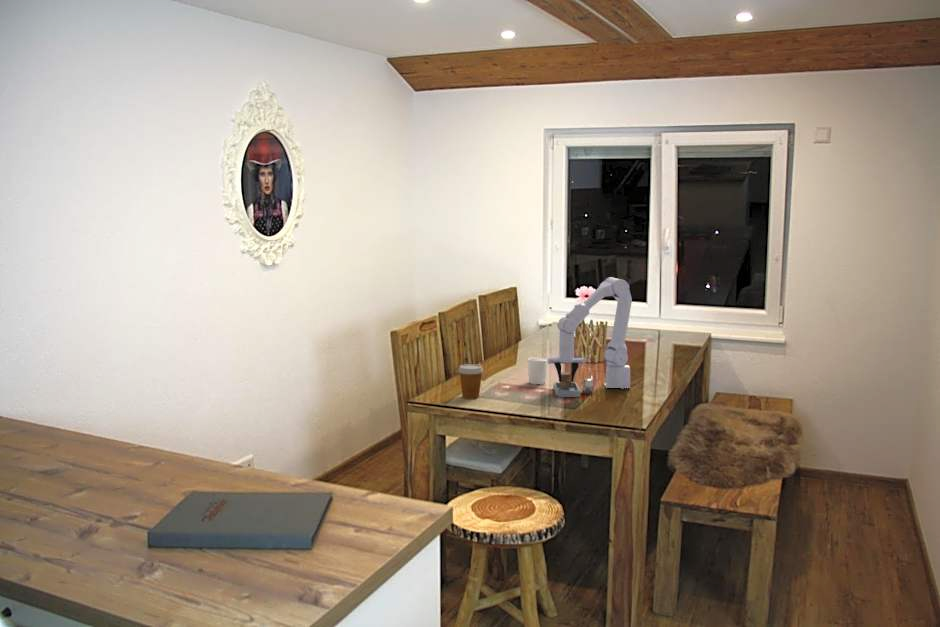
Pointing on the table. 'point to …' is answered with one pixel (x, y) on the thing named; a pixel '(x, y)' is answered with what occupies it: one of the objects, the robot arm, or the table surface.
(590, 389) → the metal cylinder
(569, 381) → the walnut block
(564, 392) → the parts tray
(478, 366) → the disposable coffee cup
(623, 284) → the robot arm
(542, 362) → the white cup
